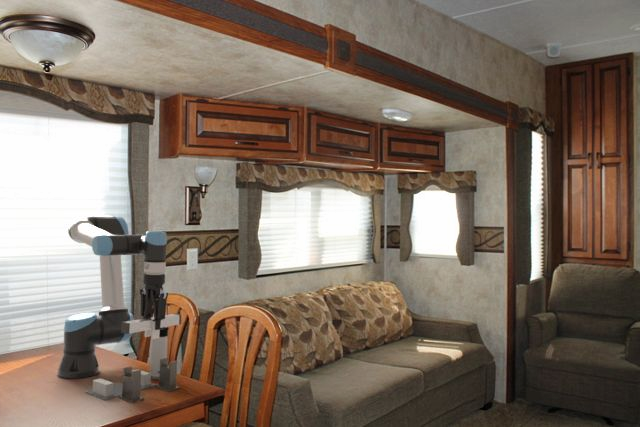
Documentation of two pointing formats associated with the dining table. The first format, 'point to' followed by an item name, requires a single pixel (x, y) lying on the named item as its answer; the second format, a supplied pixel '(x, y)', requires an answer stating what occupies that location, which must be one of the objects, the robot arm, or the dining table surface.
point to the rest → (116, 387)
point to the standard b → (167, 375)
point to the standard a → (131, 385)
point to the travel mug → (158, 352)
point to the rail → (149, 323)
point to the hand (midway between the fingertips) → (151, 337)
